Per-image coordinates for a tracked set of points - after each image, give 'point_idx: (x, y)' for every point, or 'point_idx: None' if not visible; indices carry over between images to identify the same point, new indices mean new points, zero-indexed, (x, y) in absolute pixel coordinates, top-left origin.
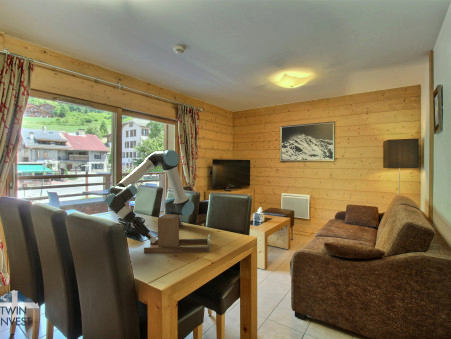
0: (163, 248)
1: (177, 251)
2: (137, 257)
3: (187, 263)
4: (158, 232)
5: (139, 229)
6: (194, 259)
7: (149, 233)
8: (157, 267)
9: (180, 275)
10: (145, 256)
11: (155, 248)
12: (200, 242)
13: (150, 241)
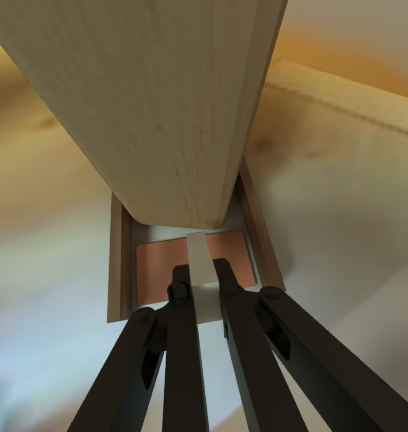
0: (250, 184)
1: None
2: (336, 302)
3: (313, 101)
4: (239, 164)
5: (380, 386)
6: (278, 91)
7: (205, 276)
8: (383, 170)
9: (392, 101)
10: (309, 263)
11: (263, 221)
12: None
13: (123, 318)
